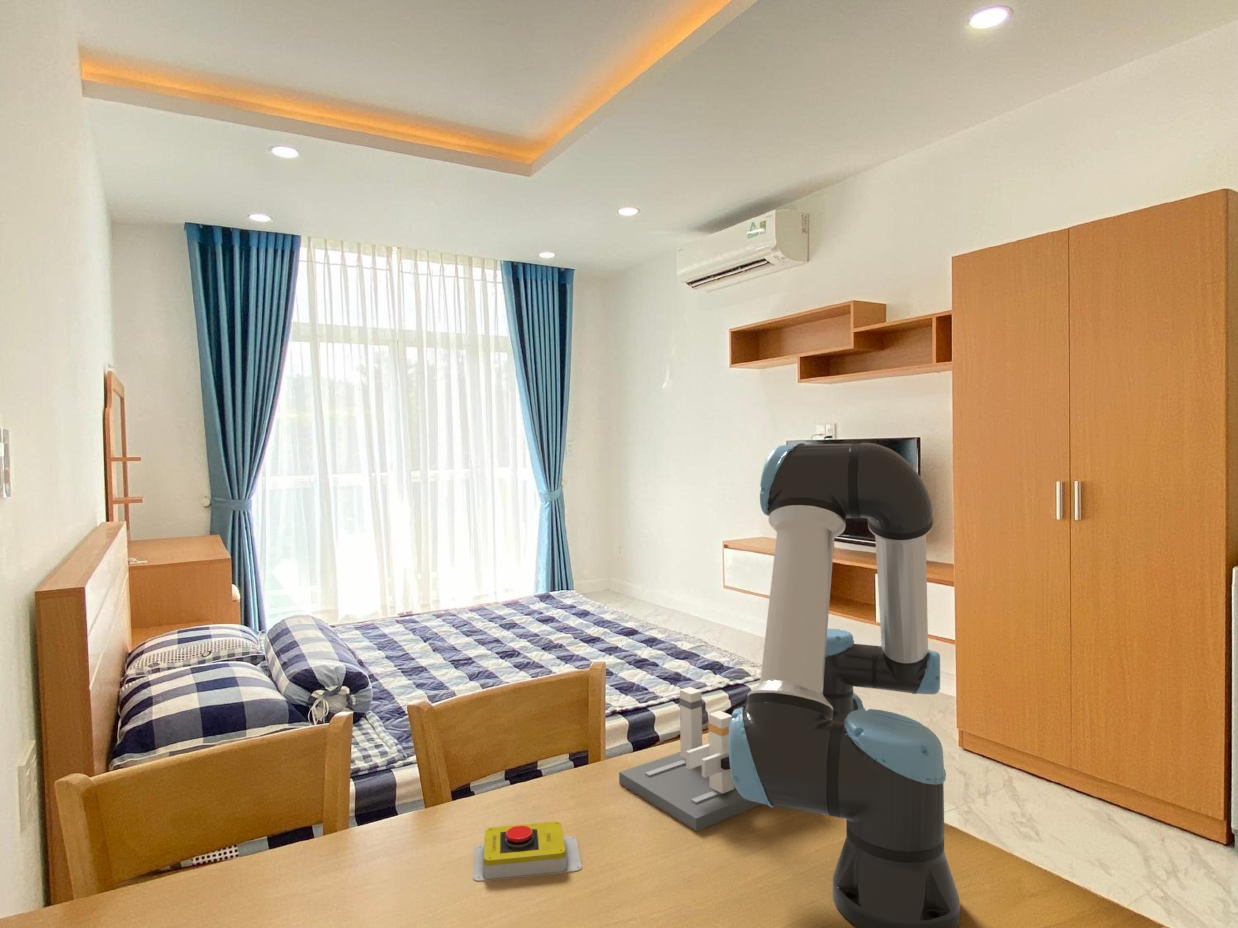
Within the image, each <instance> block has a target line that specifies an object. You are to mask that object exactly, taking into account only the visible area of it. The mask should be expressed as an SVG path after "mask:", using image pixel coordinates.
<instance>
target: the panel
mask: <svg viewBox="0 0 1238 928" xmlns="http://www.w3.org/2000/svg"><path fill="white" fill-rule="evenodd" d="M618 774H619V775H618V779H619V780H618V783H619V785H621V786H623V787H624V788H626V789H628V790H629V791H630V792H632V793H634V794H635V795H637V796H638V797H640V798H642V799H643V800H645V801H647V802H648V803H650V804H652V805H653V806H654V807H655V808H657V809H659V810H661V811H662V812H664V813H666V814H668V815H669V816H671V817H672V818H674V819H675V820H677V821H679V822H680V823H682V824H684V825H685V826H686V827H688V828H690V829H691V830H693V831H694V832H699V831H701V830H704V829H706V828H707V827H711V826H713V825H715V824H718V823H720V822H723V821H725V820H727V819H730V818H732V817H735V816H736V815H740V814H741V813H744V812H746V811H749V810H751V809H754V808H756V807H758V806H760V805H763V804H762V803H758V802H753V801H749V800H746V799H745V798H743V797H742V796H741V795H740V794H739V793H738V791H737V790H736V787H735V785H734V789H733V790H730V791H728V792H725V793H723V794H722V793H720V792H718V791H716V790H715V789H713V788H711V787H710V781H709V776H708V777H706V778H705V777H703V776H702V765H700V766H698V767H695V768H692V769H688V768H686V759H685V758H684V757H682V756H681V751H678V752H676V753H673V754H670V755H668V756H665V757H661V758H658V759H655V760H652V761H649V762H646V763H643V764H639V765H637V766H634V767H632V768H628V769H625V770H622V771H619V773H618Z"/></svg>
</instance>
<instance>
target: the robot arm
mask: <svg viewBox="0 0 1238 928" xmlns="http://www.w3.org/2000/svg"><path fill="white" fill-rule="evenodd" d="M760 478H761V479H760V483H759V484H760V485H759V486H760V492H759V502H760V503H759V504H760V508H761V511H762V513H763V514H764V515H765V516H768V523H769V525H770V526H771V528H773V530H775V531H776V539H775V547H774V555H773V564H772V566H773V567H772V573H771V574H772V575H771V584H770V589H769V590H770V592H769V599H768V601H769V602H768V609H767V610H768V611H767V618H766V629H765V637H764V645H763V654H762V662H761V671H760V672H761V673H760V681H759V684H758V685H757V686H756V687H754V688H753V689H752V690H751V691H749V692H748V693H747V696H746V705H745V707H743V706H741V707H738V708H735V709H734V710H733V711H732V713H731V715H732V717H731V721H730V725H729V750H726V751H723V752H720V753H717V754H715V755H712V756H709V743H706V744H702V746H700V747H697V748H694V749H691V750H688V751H686V768H688V769H692V768H695V767H698V766H700V765H702V776H703V777H705V778H706V777H708V776H711V775H714V774H717V773H719V772H722V771H725V770H729V769H731V774H732V778H733V782H734V785H735V787H736V790H737V791H738V793H739V794H740V795H741V796H742V797H743V798H745V799H746V800H749V801H753V802H758V803H762V804H761V805H767V806H768V807H770V808H775V807H777V808H784V809H789V810H793V811H795V810H796V811H799V812H800V811H801V812H805V813H810V814H817V815H822V816H829V817H834V818H839V819H844V820H846V836H845V840H844V843H843V846H842V848H841V851H840V854H839V857H838V860H837V863H836V866H835V868H834V871H833V875H832V899H833V902H834V905H835V907H836V908H837V910H838V911H839V912H840V914H842V917H845V919H846V920H848V921H849V922H850V923H852V924H853V925H854V926H856V927H858V928H958V927H959V924H960V921H961V901H960V895H959V891H958V889H957V886H956V883H955V879H954V877H953V874H952V870H951V868H950V865H949V862H948V859H947V856H946V853H945V852H946V851H945V801H944V800H945V799H944V798H945V797H944V796H945V794H944V783H945V782H946V777H947V772H946V769H945V765H944V763H945V762H944V749H943V745H942V742H941V741H940V739H939V737H938V735H936V733H935V732H934V731H933V730H932V729H931V728H929V727H928V726H926V725H924V724H922V723H921V722H920V721H918V720H915V719H913V718H910V717H908V716H906V715H903V714H899V713H896V712H892V711H888V710H883V709H875V708H873V709H872V708H868V709H867V710H866V708H865V707H864V704H863V700H862V699H861V698H860V697H859V695H858V694H856V693H855V692H854V687H856V688H857V687H859V688H866V689H874V690H875V689H876V690H882V691H883V690H884V691H892V692H899V693H907V694H912V695H918V694H919V695H937V694H938V693H939V692H940V690H941V655H940V653H939V652H938V651H934V650H931V649H929V634H928V633H929V631H928V629H929V628H928V625H929V624H928V621H929V620H928V577H927V576H928V574H927V573H928V571H927V566H928V564H927V535H928V534H930V533H931V531H932V530H933V525H934V513H933V512H934V511H933V510H934V509H933V504H932V501H931V500H932V499H931V497H930V494H929V491H928V489H927V487H926V485H925V483H924V481H923V479H922V478H921V476H920V475H919V473H918V472H917V471H916V470H915V468H914V467H913V466H912V464H911V463H910V462H908V461H907V460H906V459H905V458H904V457H902V456H901V454H899V453H898V452H896V451H894V450H893V449H891V448H889V447H887V446H885V445H881V444H877V443H871V442H861V443H812V444H806V443H803V442H798V443H795V444H782V445H778V446H776V447H775V448H773V449H772V450H771V451H770V452H769V454H768V456H767V458H766V460H765V463H764V465H763V469H762V473H761V477H760ZM847 519H867V527H868V530H869V532H870V533H872V535H874V536H875V539H874V540H875V553H876V571H877V587H878V607H879V622H880V624H879V625H880V639H881V640H880V642H881V643H880V644H881V645H873V644H863V643H862V644H860V643H855V641H854V636H853V634H852V633H851V632H850V631H847V630H843V629H839V628H829V627H828V625H829V614H830V603H831V602H830V601H831V586H832V573H833V559H834V558H833V557H834V547H835V546H834V545H835V538H837V537H839V536H840V535H841V534H843V533H844V531H846V530H845V529H846V526H847V525H846V524H847V523H846V521H847Z"/></svg>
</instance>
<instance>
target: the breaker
mask: <svg viewBox="0 0 1238 928" xmlns="http://www.w3.org/2000/svg"><path fill="white" fill-rule="evenodd" d="M702 694H703V693H702V690H699V689H697V688H694V687H692V686H688V687H685V688H682V689H679V726H680V727H679V728H680V729H679V730H680V731H679V732H680V733H679V734H680V735H679V736H680V739H679V740H680V752H681V756H682V757H684V758H685V759H686V751H688V750H691V749H694V748H697V747H700V746H703V715H702V712H703V711H702V708H703V699H702Z"/></svg>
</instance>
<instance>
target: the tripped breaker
mask: <svg viewBox="0 0 1238 928" xmlns="http://www.w3.org/2000/svg"><path fill="white" fill-rule="evenodd" d="M731 717H732V714H729V713H726V712H724V711H722V710H717V711H715V712H711V713H708V723H707V725H708V728H707V729H708V744H709V756H712V755H715V754H717V753H720V752H723V751H726V750H729V725H730V721H731ZM709 781H710V787H711V788H713V789H715V790H716V791H718V792H720V793H722V794H723V793H725V792H728V791H730V790H733V789H734V782H733V778H732V774H731V769H729V770H725V771H722V772H719V773H717V774H714V775H711V776H709Z"/></svg>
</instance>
